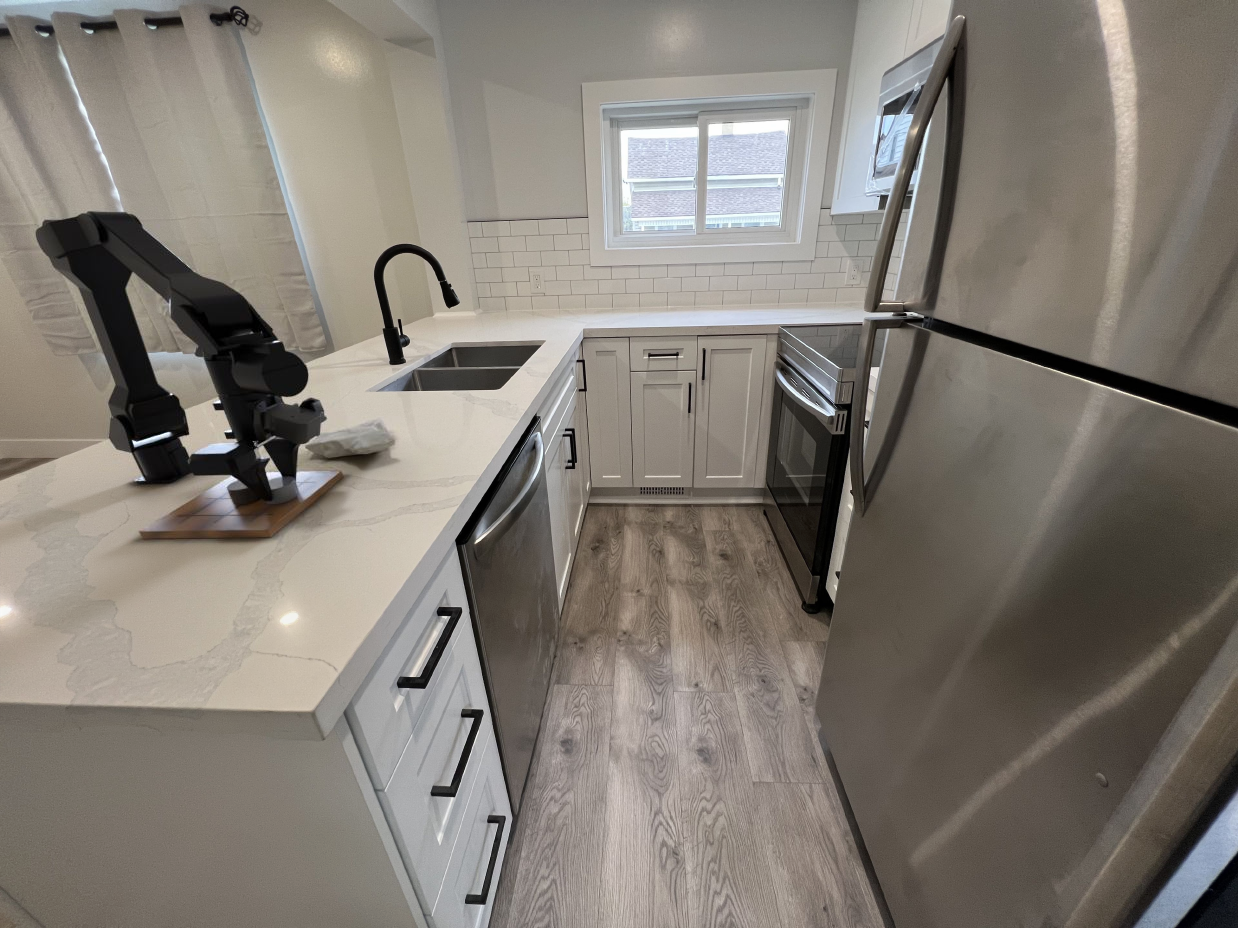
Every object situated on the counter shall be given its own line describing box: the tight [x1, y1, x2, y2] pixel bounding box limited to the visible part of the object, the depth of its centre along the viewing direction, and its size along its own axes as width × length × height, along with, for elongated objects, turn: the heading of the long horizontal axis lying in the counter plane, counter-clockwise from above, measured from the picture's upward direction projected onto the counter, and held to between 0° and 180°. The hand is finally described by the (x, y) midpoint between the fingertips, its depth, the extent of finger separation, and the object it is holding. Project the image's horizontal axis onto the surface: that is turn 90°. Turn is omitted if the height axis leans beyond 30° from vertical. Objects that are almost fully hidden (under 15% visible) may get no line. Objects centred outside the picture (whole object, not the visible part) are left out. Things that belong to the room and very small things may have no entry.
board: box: [138, 470, 344, 540], centre depth 74 cm, size 18×18×1 cm
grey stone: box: [265, 476, 299, 504], centre depth 73 cm, size 4×4×2 cm
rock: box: [304, 417, 396, 459], centre depth 92 cm, size 21×5×15 cm
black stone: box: [227, 480, 261, 505], centre depth 74 cm, size 4×4×2 cm
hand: (280, 492), depth 74 cm, fingers open, 5 cm apart
